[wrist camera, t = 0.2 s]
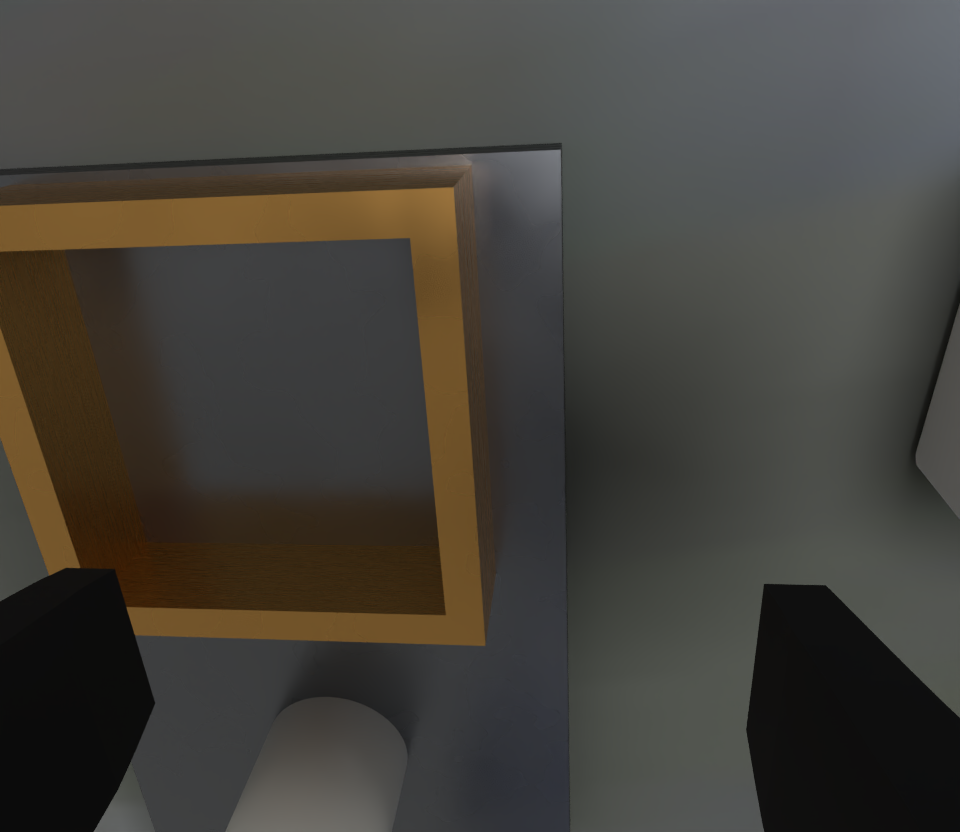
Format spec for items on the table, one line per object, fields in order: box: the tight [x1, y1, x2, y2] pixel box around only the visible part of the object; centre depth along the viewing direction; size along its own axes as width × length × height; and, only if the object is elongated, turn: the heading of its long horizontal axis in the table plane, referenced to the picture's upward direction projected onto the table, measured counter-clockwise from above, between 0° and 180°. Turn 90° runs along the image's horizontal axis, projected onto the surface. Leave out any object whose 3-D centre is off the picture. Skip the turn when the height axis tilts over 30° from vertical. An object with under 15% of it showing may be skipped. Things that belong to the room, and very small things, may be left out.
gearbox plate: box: [0, 143, 570, 832], centre depth 19 cm, size 20×13×4 cm, turn 3°
